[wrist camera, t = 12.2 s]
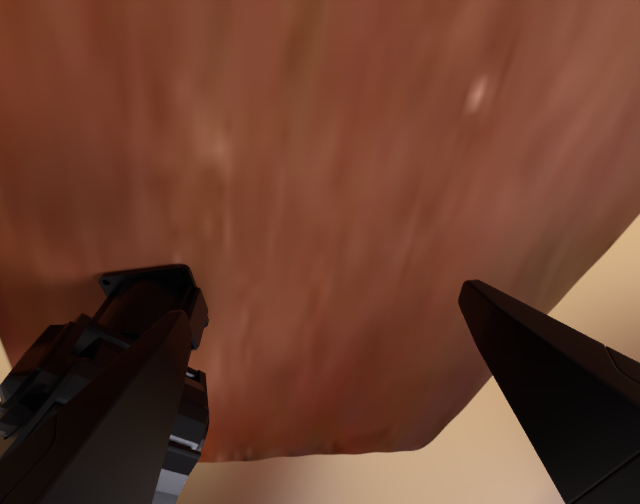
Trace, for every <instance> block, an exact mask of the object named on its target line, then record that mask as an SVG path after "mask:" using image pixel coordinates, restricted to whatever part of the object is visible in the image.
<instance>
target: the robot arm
mask: <svg viewBox="0 0 640 504" xmlns="http://www.w3.org/2000/svg"><path fill="white" fill-rule="evenodd" d="M180 270H184V271H185V273H184V272H181V271H180ZM106 280H108V281H110V282H108V281H106ZM99 284H100V285H101V287H102V289H103V290H104V292H105V294H106V295H107V299H106V300H105V301H104V303H103V304H102V305H101V307H100V308H99V310H98V311H97V312H96V314H95V315H94V316H93V318H92V319H91V317H89V316H87V315H85V314H83V313H82V314H81V315H80V316H79V317H77V318H76V319H75V320H74V321H73V322H71V321H70V322H69V323H68V324H65V325H50V326H49V327H48V328H47V329H46V330H45V331H44V332H43V333H42V334H41V335H40V336H39V337H38V339H37V340H36V341H35V342H34V343H33V344H32V345H31V347H30V348H29V349H28V350H27V351H26V352H25V354H24V355H23V356H22V357H21V358H20V360H19V361H18V362H17V363H16V365H15V366H14V367H13V369H12V370H11V371H10V373H9V374H8V375H7V377H6V378H5V379H4V381H3V382H2V383H1V385H0V398H1V402H0V504H175V503H176V501H177V498H178V496H179V494H180V491H181V490H182V487H183V486H184V483H185V481H186V479H187V478H188V476H189V474H190V472H191V471H192V469H193V468H194V466H195V465H196V463H197V461H198V460H199V458H200V456H201V452H200V450H201V448H202V446H203V443H204V441H205V438H206V435H207V432H208V426H209V409H208V397H207V386H206V374H205V373H204V372H202V371H200V370H198V371H196V370H194V369H192V368H190V367H188V361H189V358H190V354H191V351H192V350H197V348H198V347H199V345H200V341H201V337H202V333H203V329H204V327H207V326H208V323H209V319H208V316H207V314H208V308H207V305H206V303H205V300H204V297H203V294H202V291H201V289H200V288H199V287H197V286H196V283H195V281H194V278H193V275H192V272H191V270H190V268H189V267H188V266H187V265H175V266H167V267H159V268H151V269H142V270H134V271H126V272H118V273H110V274H104V275H103V276H102V277H101V278H100V279H99ZM458 303H459V307H460V309H461V311H462V314H463V316H464V318H465V321H466V323H467V325H468V328H469V330H470V332H471V334H472V337H473V339H474V341H475V343H476V346H477V348H478V349H479V351H480V353H481V355H482V357H483V359H484V360H485V362H486V364H487V366H488V367H489V369H490V371H491V373H492V375H493V376H494V378H495V380H496V382H497V383H498V385H499V387H500V389H501V390H502V392H503V394H504V396H505V398H506V399H507V401H508V403H509V405H510V406H511V408H512V410H513V412H514V413H515V415H516V417H517V419H518V421H519V422H520V424H521V426H522V428H523V429H524V431H525V433H526V435H527V436H528V438H529V440H530V442H531V444H532V445H533V447H534V449H535V451H536V452H537V454H538V456H539V458H540V460H541V461H542V463H543V465H544V467H545V468H546V470H547V472H548V474H549V475H550V477H551V479H552V481H553V483H554V484H555V486H556V488H557V490H558V491H559V493H560V495H561V497H562V499H563V500H564V502H565V504H640V363H639V362H637V361H635V360H633V359H631V358H629V357H627V356H625V355H623V354H621V353H619V352H617V351H615V350H613V349H612V348H610V347H607V346H606V347H605V345H604V344H602V343H600V342H598V341H596V340H594V339H592V338H590V337H588V336H586V335H584V334H583V333H581V332H579V331H577V330H575V329H573V328H571V327H569V326H567V325H565V324H563V323H561V322H559V321H557V320H556V319H553V318H552V317H550V316H548V315H546V314H544V313H542V312H540V311H538V310H536V309H534V308H532V307H530V306H528V305H527V304H525V303H523V302H521V301H519V300H517V299H515V298H513V297H511V296H509V295H507V294H505V293H503V292H501V291H499V290H498V289H496V288H494V287H492V286H490V285H488V284H486V283H484V282H482V281H480V280H476V279H475V280H467V281H465V282H464V283H463V285H462V289H461V292H460V295H459V299H458Z"/></svg>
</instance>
